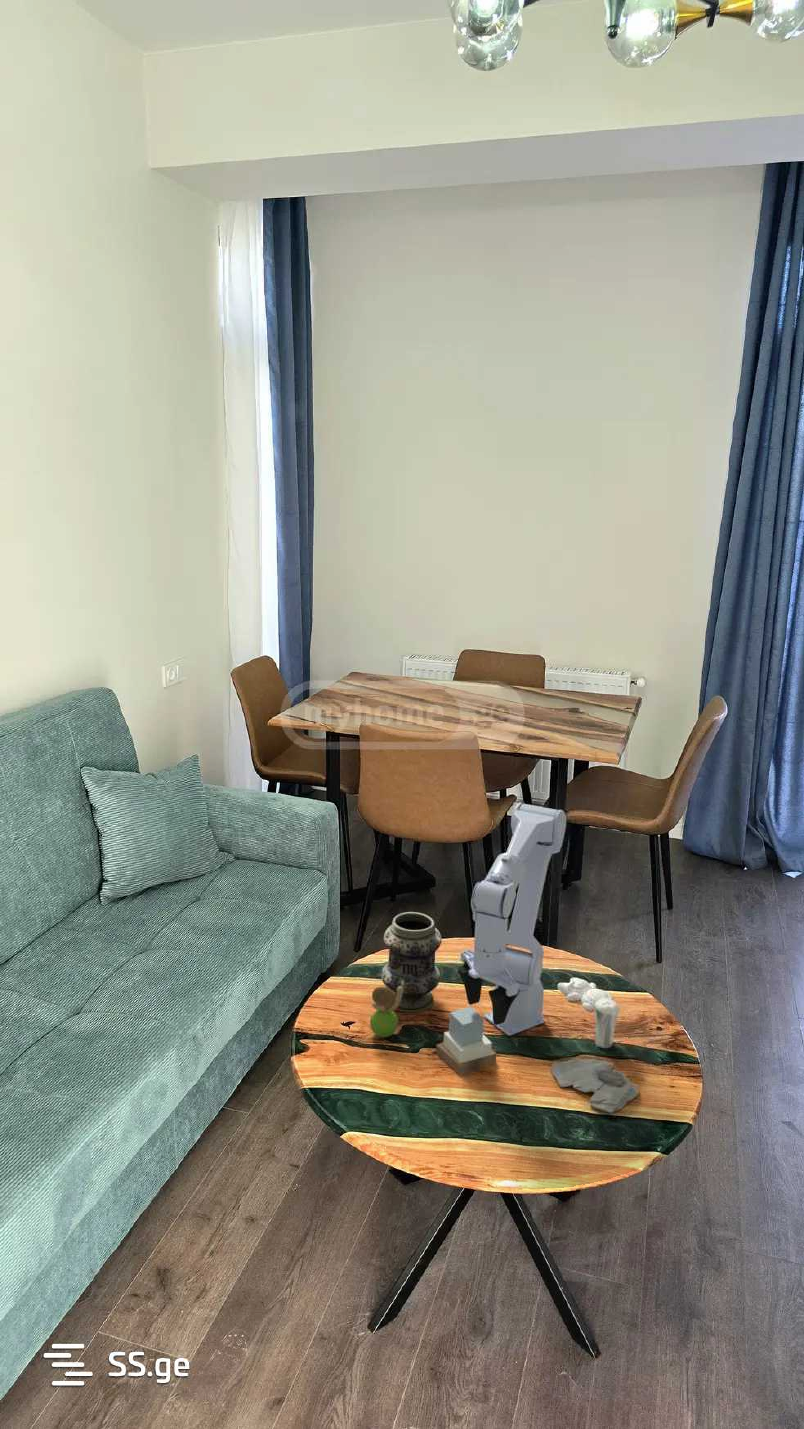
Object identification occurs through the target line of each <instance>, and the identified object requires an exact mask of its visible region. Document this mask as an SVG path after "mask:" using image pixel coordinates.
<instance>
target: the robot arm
mask: <svg viewBox="0 0 804 1429" xmlns="http://www.w3.org/2000/svg"><path fill="white" fill-rule="evenodd" d="M510 827H511V833H512V836H511V840H510V842H509V845H508V847H507V850H506V852H504V853H500V854H499V855H497V857H496V859H495V861H494V862H493V863H492V866H491V868H490V869H489V871H488V873H487V875H486V877H485V878H484V879H483V880H481V882H480V881H478V882H477V883H475V886H474V887H473V890H472V894H471V901H470V907H471V911H472V920H473V921H474V922H475V923H474V925H475V926H474V939H473V940H474V941H473V942H474V943H473V950H471V949H466V950H463V951H461V952H460V962H462V964H463V965H462V966H459V967H458V968H457V973H458V974H459V976H460V979H461V981H462V983H463V986H464V990H465V994H466V999H467V1003H468V1005H470V1006H473V1005H475V1004H478V1003H480V1001H481V994H482V989H483V988H482V986H483V982H484V981H487V982H489V983H492V984H495V988H493V989H490V990H488V995H489V997H490V1001H491V1006H492V1007H491V1008H492V1011H491V1012H488V1013H485V1014H484V1015H483V1016H484V1017H483V1018H485V1019H486V1020H487V1021H488V1022H490V1023H491V1024H492V1025H494V1026H495V1027H497V1029H499V1030H500V1031H501V1032H503V1033H504V1034H505V1035H507V1036H510V1037H511V1036H513V1035H515V1034H517V1033H521V1032H523V1031H526V1030H528V1029H530V1028H533V1027H536V1026H538V1025H541V1024H544V1023H545V1021H546V1020H545V1018H543V1011H544V1010H543V1008H544V1006H543V1005H544V995H545V994H544V987H543V983H542V981H541V977H542V973H543V972H542V971H543V965H544V964H543V962H544V961H543V960H544V948H543V946H542V945H541V943H540V942H539V941H538V939H536V937H535V936H534V932H535V928H536V923H537V917H538V912H539V908H540V903H541V900H542V895H543V890H544V884H545V881H546V876H547V871H548V866H549V863H550V860H551V858H552V855H553V854H557V853H559V852H560V851H561V848H562V846H563V843H564V838H565V832H566V827H567V814H566V813H565V811H564V810H562V809H555V808H554V809H553V808H548V807H543V806H540V805H539V806H537V805H533V804H532V805H531V804H528V803H527V804H526V803H524V802H518V803H517V804H516V805H515V806H514V808H513V811H512V813H511V819H510ZM517 888H518V889H517ZM516 890H517V893H516ZM514 902H515V903H514ZM513 906H514V907H513ZM512 909H513V912H512ZM511 913H512V915H511ZM510 915H511V916H512V917H511V922H510V926H509V929H508V921H509V918H508V917H510ZM509 946H512V947H513V948H512V947H509ZM514 947H516V948H520V949H525V950H528V951H525V950H520V949H516V948H514ZM529 951H530V952H529Z"/></svg>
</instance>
